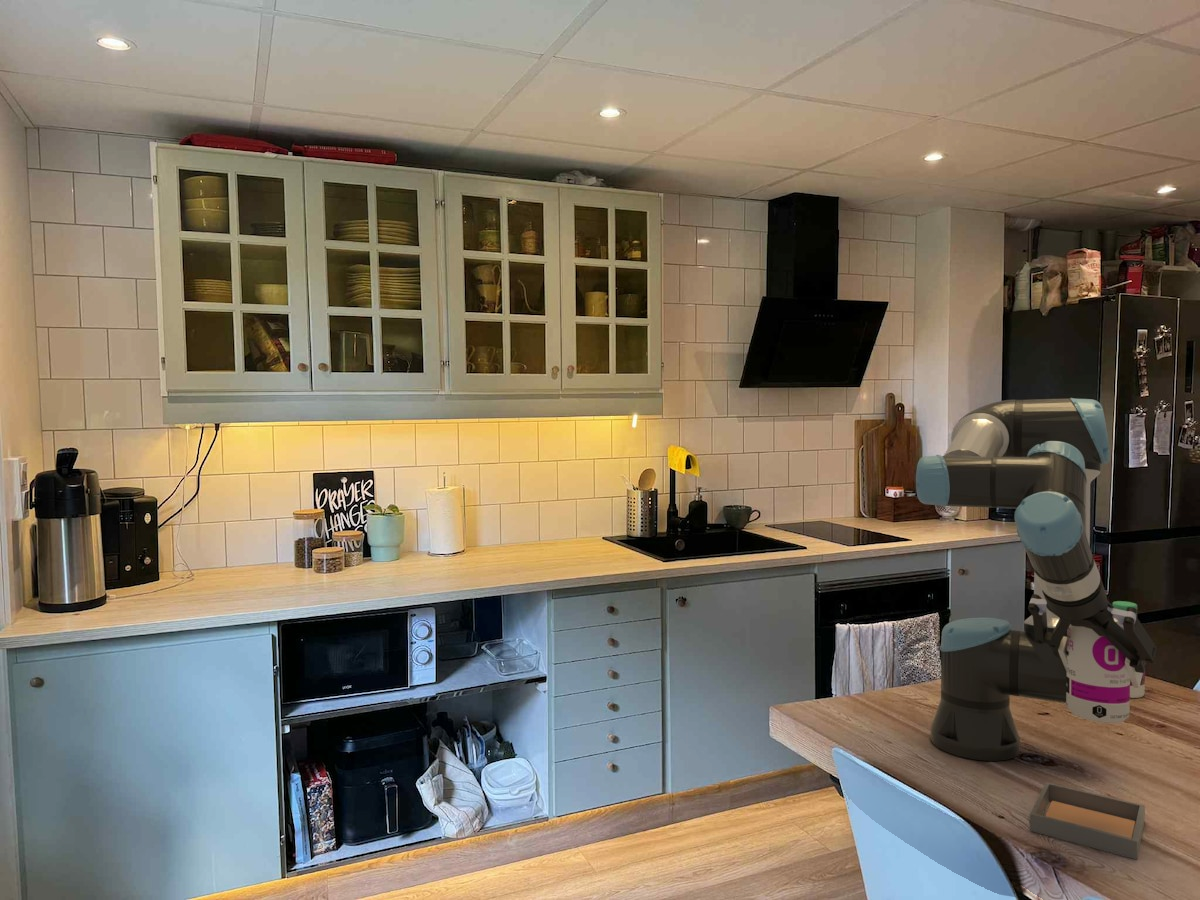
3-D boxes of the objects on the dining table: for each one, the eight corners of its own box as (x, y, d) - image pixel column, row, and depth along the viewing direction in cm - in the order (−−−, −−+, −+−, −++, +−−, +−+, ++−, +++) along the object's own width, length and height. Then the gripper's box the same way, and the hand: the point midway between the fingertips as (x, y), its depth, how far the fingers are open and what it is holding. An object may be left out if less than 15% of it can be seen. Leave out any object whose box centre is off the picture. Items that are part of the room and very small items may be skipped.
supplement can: (1142, 725, 118) (1143, 622, 118) (1085, 724, 119) (1086, 622, 118) (1108, 706, 127) (1109, 610, 126) (1055, 706, 127) (1056, 610, 127)
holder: (1136, 859, 112) (1137, 841, 111) (1029, 830, 120) (1030, 814, 119) (1144, 821, 122) (1144, 805, 122) (1045, 797, 130) (1045, 781, 130)
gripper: (985, 593, 120) (1025, 679, 131) (1153, 616, 104) (1182, 711, 115) (999, 553, 123) (1037, 640, 134) (1164, 570, 108) (1191, 667, 119)
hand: (1104, 673), depth 125 cm, fingers closed on supplement can, 8 cm apart
